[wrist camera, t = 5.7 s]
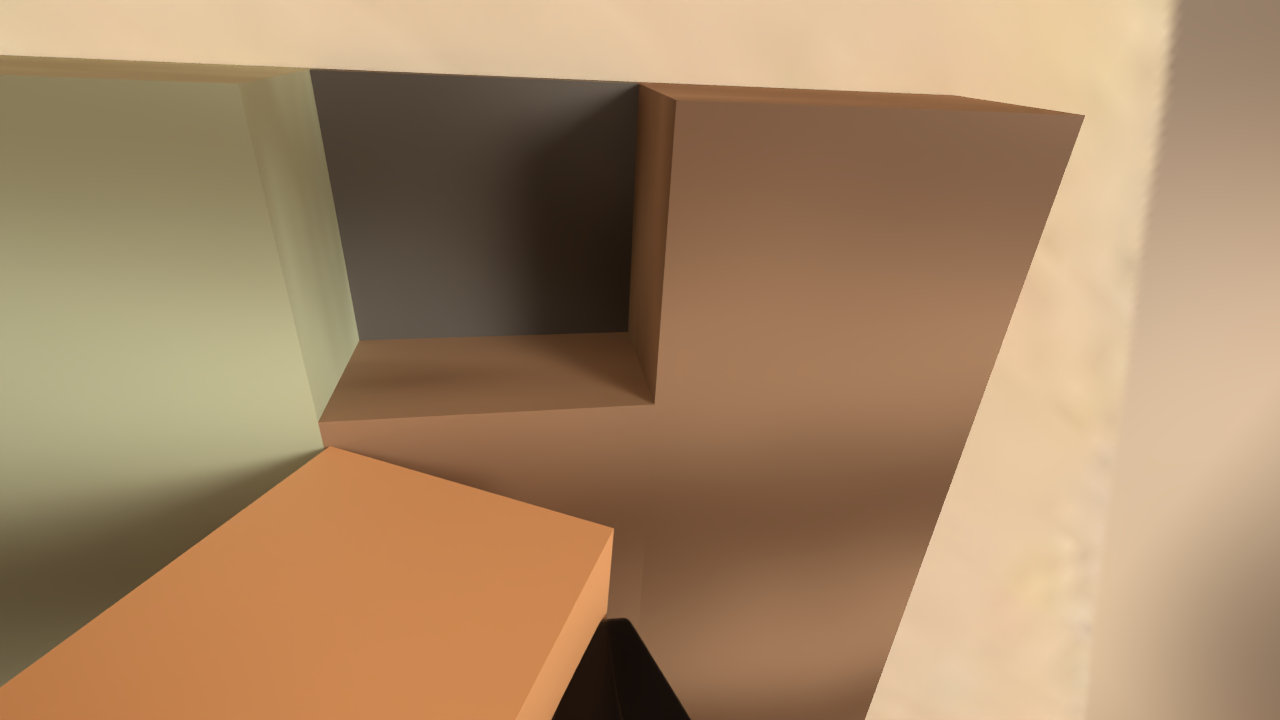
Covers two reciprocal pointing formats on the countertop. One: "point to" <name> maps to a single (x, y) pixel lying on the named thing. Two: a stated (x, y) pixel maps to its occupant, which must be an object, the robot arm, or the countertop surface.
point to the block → (344, 611)
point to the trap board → (513, 332)
